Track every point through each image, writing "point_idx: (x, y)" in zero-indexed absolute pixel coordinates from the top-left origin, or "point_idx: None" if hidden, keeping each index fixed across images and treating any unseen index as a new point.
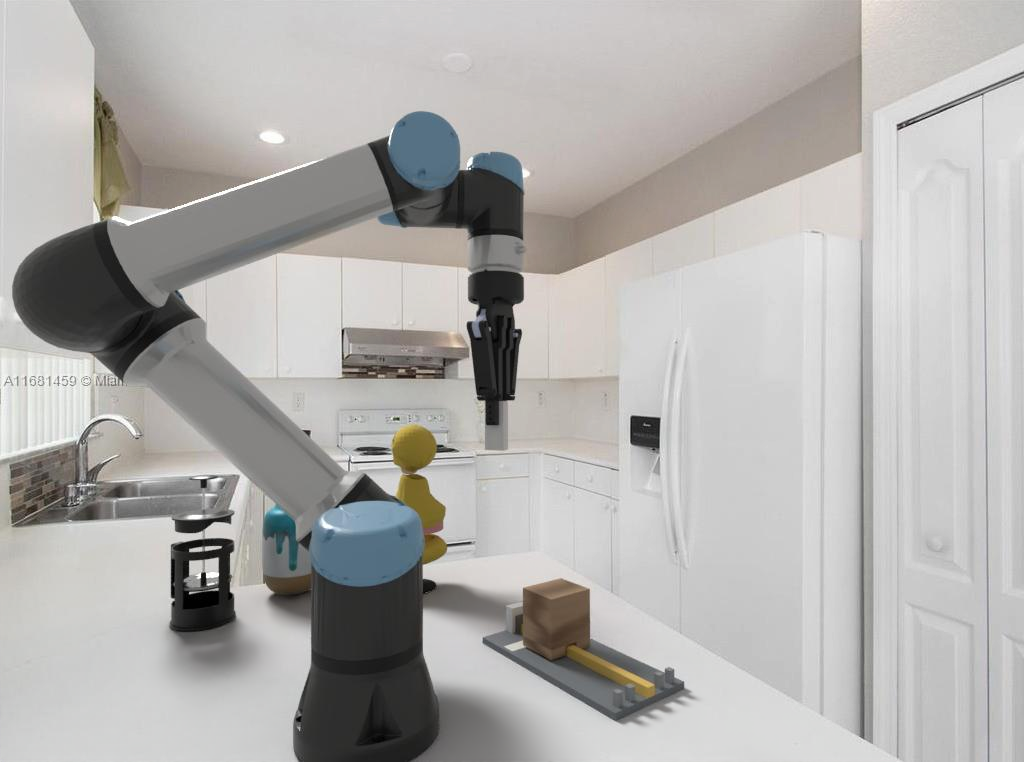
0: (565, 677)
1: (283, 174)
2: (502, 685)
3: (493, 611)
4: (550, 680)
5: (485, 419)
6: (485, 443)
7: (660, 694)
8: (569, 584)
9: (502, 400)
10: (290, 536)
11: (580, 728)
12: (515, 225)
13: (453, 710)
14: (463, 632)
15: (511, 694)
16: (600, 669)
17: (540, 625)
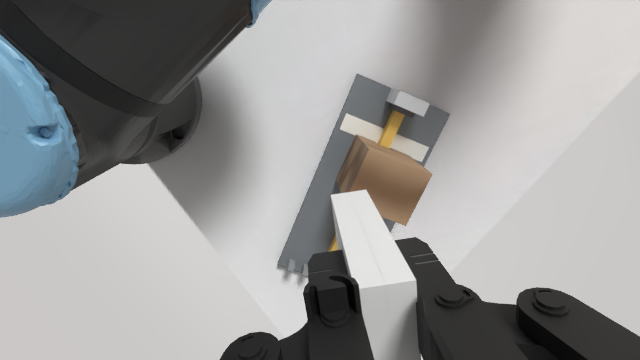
0: (314, 204)
1: None
2: (278, 152)
3: (459, 22)
4: (308, 190)
5: (342, 243)
6: (333, 203)
7: None
8: (411, 196)
9: (418, 348)
10: None
11: (252, 244)
12: None
13: (211, 139)
14: (374, 30)
15: (268, 169)
16: None
17: (347, 172)
